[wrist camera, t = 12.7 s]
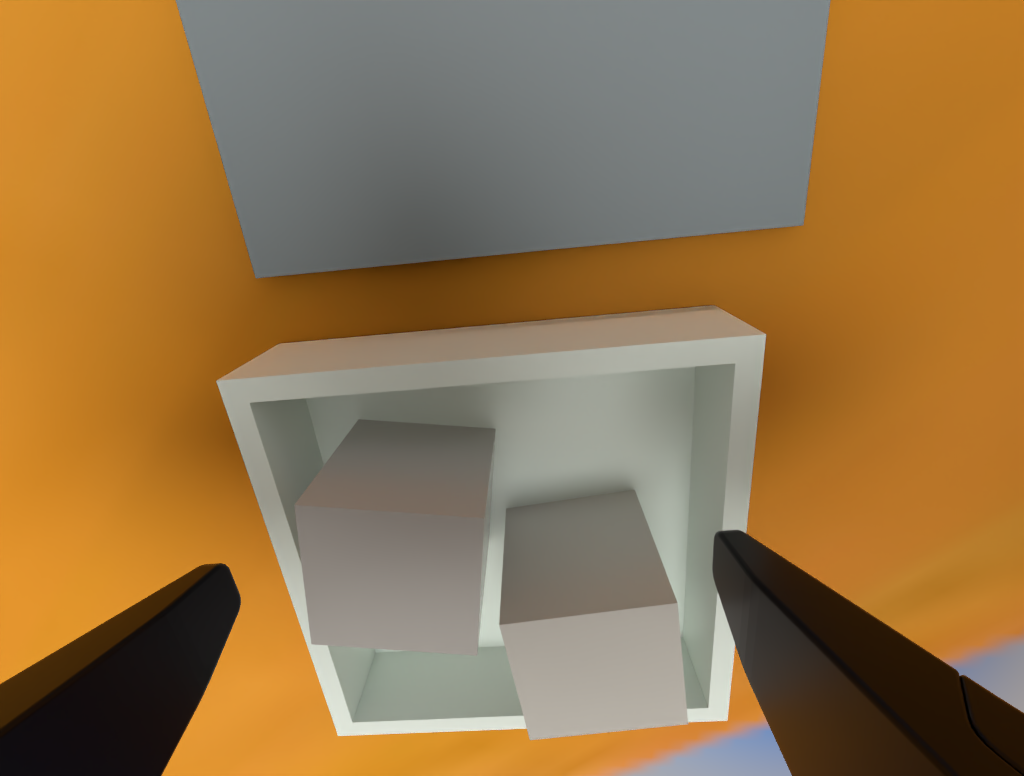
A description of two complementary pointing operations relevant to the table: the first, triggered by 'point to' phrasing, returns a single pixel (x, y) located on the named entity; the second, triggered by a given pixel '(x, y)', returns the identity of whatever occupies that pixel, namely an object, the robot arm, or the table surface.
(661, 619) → the light grey cube
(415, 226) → the lid board
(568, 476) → the tray
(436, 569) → the grey cube
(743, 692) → the table surface
